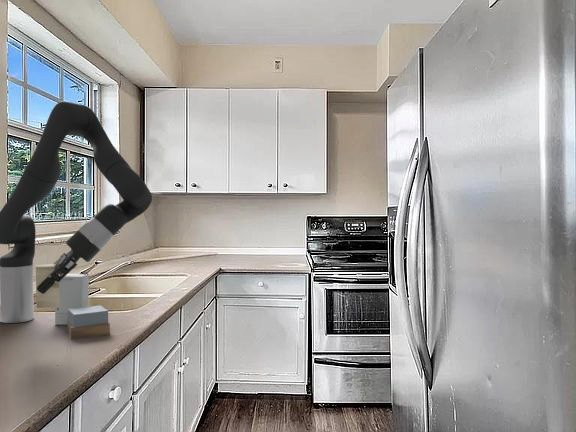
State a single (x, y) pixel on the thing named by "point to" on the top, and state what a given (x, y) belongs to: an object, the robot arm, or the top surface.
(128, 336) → the top surface
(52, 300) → the birch pillar block
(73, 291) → the skincare box
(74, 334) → the walnut base block
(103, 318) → the slate top block
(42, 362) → the top surface
